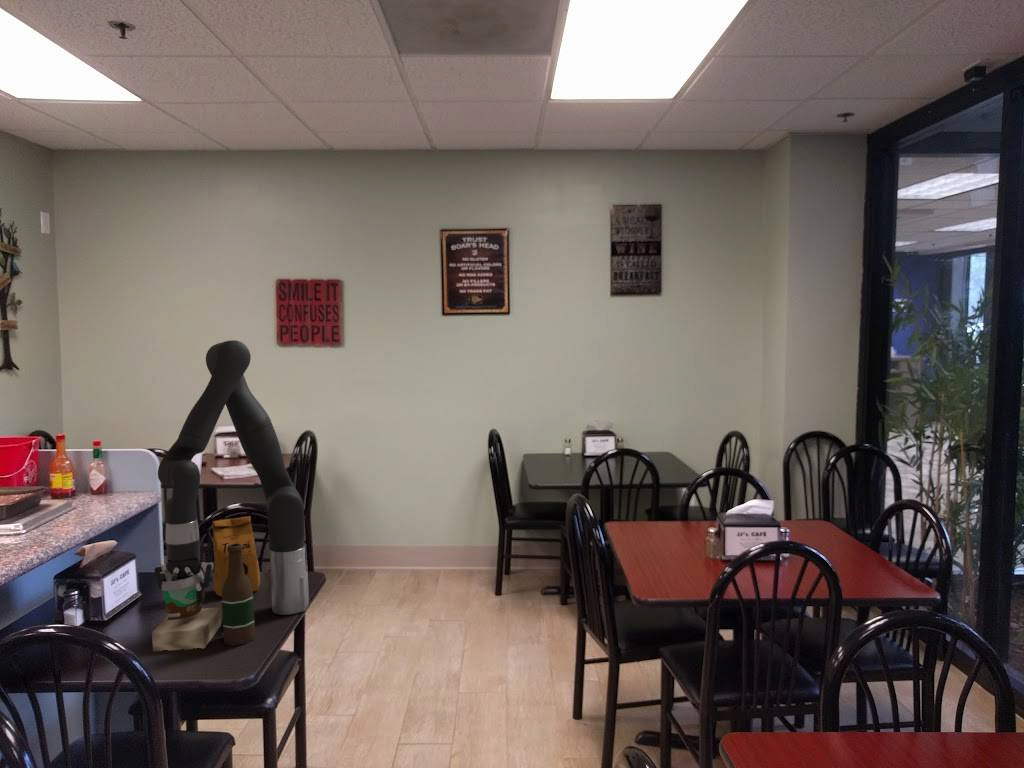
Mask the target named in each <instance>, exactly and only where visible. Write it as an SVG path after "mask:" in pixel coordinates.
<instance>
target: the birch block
mask: <svg viewBox="0 0 1024 768" xmlns="http://www.w3.org/2000/svg"><path fill="white" fill-rule="evenodd" d="M221 609H222V606H221V607H205V608H203V607H201V611H200V612H199V613H198V614H196V615H194V616H191V617H188V618H184V619H178V620H168V615H167V616H166V617H165V618H164V619H163V620H162V621H161V622H160V623H159V625H157V626H156V628H155V629H154V630H153V631H152V632H151V640H152V641H151V642H152V651H153V652H163V651H162V650H168V651H182V650H181V649H184V650H195V649H196V648H201V649H205V648H206V647H207V646H208V644H209V643H210V641H211V640H212V639H213V637H214V636H215V634H216V633H217V632H218V630H219V629H220V628H221V626H222V625H221V624H222V610H221ZM206 645H207V646H206ZM193 648H195V649H193ZM196 650H197V649H196Z"/></svg>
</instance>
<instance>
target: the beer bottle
mask: <svg viewBox="0 0 1024 768" xmlns="http://www.w3.org/2000/svg"><path fill="white" fill-rule="evenodd" d="M242 549H243V547H242V544H238V543H236V544H231V545H229V546H228V548H227V551H228V552H229V569H228V577H227V579H226V581H225V582H224V585H223V588H222V596H221V609H222V610H221V614H222V626H223V639H224V640H223V641H224V644H225V645H230V646H234V645H236V646H239V645H240V644H242V645H246V643H247V644H249V643H250V642H252V641H253V639H254V640H255V639H256V638H255V637H256V629H255V627H256V626H255V625H256V623H255V608H254V607H255V606H254V591H253V590H252V585H251V582H250V580H249V579H248V578H247V576H246V575H245V573H244V568H243V559H242V551H241V550H242ZM251 640H252V641H251ZM240 646H241V645H240ZM234 647H235V646H234Z"/></svg>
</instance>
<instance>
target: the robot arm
mask: <svg viewBox="0 0 1024 768" xmlns="http://www.w3.org/2000/svg"><path fill="white" fill-rule="evenodd" d="M251 359H252V358H251V352H250V350H249V348H248V346H247V345H246V344H245V343H244V342H242V341H239V340H233V339H232V340H226V341H222V342H218V343H216V344H213V345H212V346H210V348H209V349H207V351H206V355H205V364H206V367H207V370H208V372H209V374H210V376H211V377H210V379H209V381H208V382H207V386H206V387H205V389H204V391H203V393H202V394H201V395H200V396H199V398H198V400H197V401H196V402H195V404H194V405H193V406H192V408H191V410H190V412H189V413H188V415H187V417H186V419H185V421H184V423H183V426H182V428H181V429H180V433H179V435H178V437H177V439H176V440H175V441H174V443H173V444H172V445H171V446H170V448H169V449H168V451H167V452H166V454H165V455H164V456H163V458H162V459H161V461H160V463H159V465H158V469H157V477H158V481H159V482H160V483H161V484H162V485H164V486H166V487H170V488H173V490H172V497H170V498H169V499H168V498H167V500H166V501H165V504H164V507H165V508H164V509H165V510H164V511H165V539H164V540H165V544H166V546H165V547H166V558H167V562H166V563H165V564H161V563H160V564H158V565H157V566H156V567H154V573H155V574H154V575H155V579H156V582H157V585H158V588H159V591H161V592H163V591H162V582H168V581H167V577H166V573H167V571H168V572H169V574H171V577H170V579H169V582H170V581H174V580H176V579H186V578H190V577H192V576H195V575H197V574H198V573H199V569H200V568H201V569H202V571H203V573H205V575H204V579H203V580H202V581H201V582H200V583H198V584H196V589H197V590H198V591H196V599H197V605H201V606H202V604H203V602H204V601H205V589H208V588H209V587H210V586H211V585H212V582H213V578H214V565H215V561H210V562H203V559H202V558H201V547H200V529H199V528H200V527H199V523H198V514H197V499H198V496H199V490H200V484H201V472H200V468H199V467H198V465H197V464H196V462H194V461H192V459H193V458H194V457H195V456H196V455H199V454H201V453H203V452H204V451H205V450H206V448H207V446H208V444H209V442H210V439H211V437H212V434H213V432H214V430H215V427H216V426H217V423H218V421H219V418H220V416H221V414H222V412H223V410H224V408H225V406H226V409H227V412H228V414H229V417H230V419H231V423H232V424H233V427H234V429H235V434H236V436H237V438H238V441H239V443H240V445H241V447H242V450H243V452H244V454H245V456H246V458H247V460H248V461H249V463H250V464H251V466H252V469H254V471H255V472H256V474H257V476H258V479H259V481H260V483H261V487H262V490H263V493H264V498H265V501H266V503H265V504H266V509H267V524H268V551H269V569H270V586H271V587H270V590H271V606H272V607H271V610H272V612H273V614H276V615H280V616H288V615H295V614H298V613H303V612H306V611H307V609H308V607H309V604H310V596H309V595H310V594H309V593H310V592H309V576H308V575H309V573H308V572H309V571H308V570H306V566H307V565H306V548H305V545H306V544H305V540H306V539H305V536H306V529H305V528H306V527H305V526H306V525H305V506H304V502H303V499H302V496H301V494H300V493H299V492H298V490H297V488H296V486H295V485H294V483H293V481H292V479H291V477H290V475H289V473H288V470H287V469H286V466H285V462H284V458H283V455H282V454H283V453H282V450H281V445H280V442H279V439H278V435H277V433H276V430H275V428H274V425H273V423H272V420H271V418H270V416H269V414H268V413H267V411H266V410H265V409H264V407H263V406H262V404H261V403H260V402H259V401H258V399H256V397H255V396H254V395H253V393H252V392H251V390H250V388H249V385H248V383H247V381H246V378H245V375H244V374H245V372H246V371H247V370H248V368H249V366H250V363H251Z"/></svg>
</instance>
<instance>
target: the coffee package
mask: <svg viewBox="0 0 1024 768" xmlns="http://www.w3.org/2000/svg"><path fill="white" fill-rule="evenodd" d="M211 528H212V531H213V533H212V534H213V537H212V540H213V543H212V544H213V558H214V561H213V562H214V569H213V585H214V587H213V588H214V592H215V594H216V595H217V596H219V597H222V588H223V585H224V582H225V581H226V579H227V577H228V569H229V552H228V551H227V548H228V546H229V545H231V544H236V543H238V544H242V547H243V549H242V550H241V551H242V559H243V568H244V573H245V575H246V576H247V578H248V579H249V580H250V582H251V585H252V590H253V592H258V591H259V588H260V584H261V582H260V581H261V573H260V565H259V561H258V556H257V549H256V546H255V537H254V532H253V527H252V518H251V515H249V516H241V517H236V518H235V517H234V518H227V519H220V520H219V519H218V520H212V523H211Z"/></svg>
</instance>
